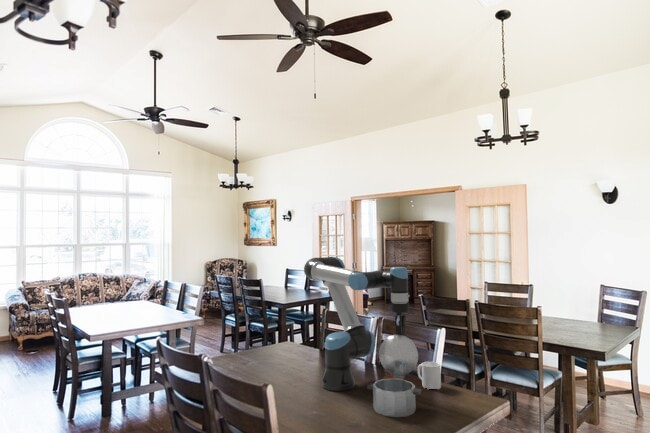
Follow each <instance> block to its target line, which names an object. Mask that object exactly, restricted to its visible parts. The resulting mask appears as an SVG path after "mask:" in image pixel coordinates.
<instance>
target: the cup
mask: <svg viewBox="0 0 650 433" xmlns="http://www.w3.org/2000/svg"><path fill="white" fill-rule="evenodd" d="M417 376H418V378H419V380H421V384H422V387H423V389H425V388H427V389H426V390H429V389H438V390H440V389H441V388H442V379H441V378H442V372H441V363H439V362H436V361H424V362H421V363H420V364H419V365H418V366H417Z"/></svg>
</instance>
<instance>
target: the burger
mask: <svg viewBox="0 0 650 433" xmlns="http://www.w3.org/2000/svg"><path fill="white" fill-rule="evenodd" d="M392 375H393V374H391V373H389V374H386V375H384V376H383V378H382V379H394V378H396V377H392ZM400 379H403V380H405V378H400Z"/></svg>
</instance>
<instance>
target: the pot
mask: <svg viewBox="0 0 650 433" xmlns="http://www.w3.org/2000/svg"><path fill="white" fill-rule="evenodd" d="M403 379H404V378H403ZM403 379H400V378H394V379H383V378H382V379H378V380H376V381H375V382H374V383H369V384H368V385H367V386H366V390H372V408H373V410H374V411H375V413H377V414H379V415H382V416H384V417H390V418H391V417H392V418H402V417H404V418H405V417H409V416H411V415H413V414H415V412H416V410H417V408H416V407H417V406H416V396H420V395H421V393H422V389H421V388H416V385H415V384H414V383H413V382H411V381H408V380H405V379H404V380H403Z"/></svg>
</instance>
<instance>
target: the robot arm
mask: <svg viewBox="0 0 650 433" xmlns="http://www.w3.org/2000/svg"><path fill="white" fill-rule="evenodd" d="M303 272H304V275H305V276H306V278H308V279H309V280H312V281H317V282H319V281H322V284H323V286H325V287H327V288H328V292H329V293H330V296H331V299H332V302H333V304H334V307H335V309H336V312H337V315H338V318H339V320H340V323H341V325H342V327H343V331H337V332H332V333H329V334H328V335H327V336H326V337H325V341H324V342H325V344H324V350H325V352H324V355H325V370H324V373H323V377H322V381H321V384H322V385H321V386H322V388H324V389H325V390H328V391H333V392H334V391H335V392H342V391H343V392H344V391H349V390H352V389H354V388H355V386H356V383H355V382H356V381H355V377H354V375H353V371H352V369H351V367H352V366H351V363H352V362H351V360H356V359H359V358H365V357H366V356H369V355H371V354H372V353H374V351H375V347H376V338H375V335H374V334H373V332H372V331H370V330H367V329H366V326H365V325H364V324H363V323H361V322H360V319H359V317H358V315H357V312H356V310H355V308H354V305H353V302H352V300H351V297H350V295H349V293H348V289H347V288H346V287H349V288H351V290H353V291H363V290H370V289H371V290H372V289H380V288H382V289H383V288H386V289H387V288H388V289H390V302H391V305H390V306H391V312H393V313H396V314H395V316H394V326H395V335H403V336H405V337H406V327H407V326H406V324H407V323H406V322H407V316H406V315H405V313H409V311H410V306H409V305H410V303H409V298H410V294H409V274H408V269H407V267H405V266H391V267H390V270H372V271H359V270H354V269H348V268H346V265H345V263H344V262H343V260H342V259H341V258H339V257H336V256H328V257H327V256H326V257H311V258H310V259H308V260H307V261H306V263H305V264H304V267H303Z"/></svg>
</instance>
